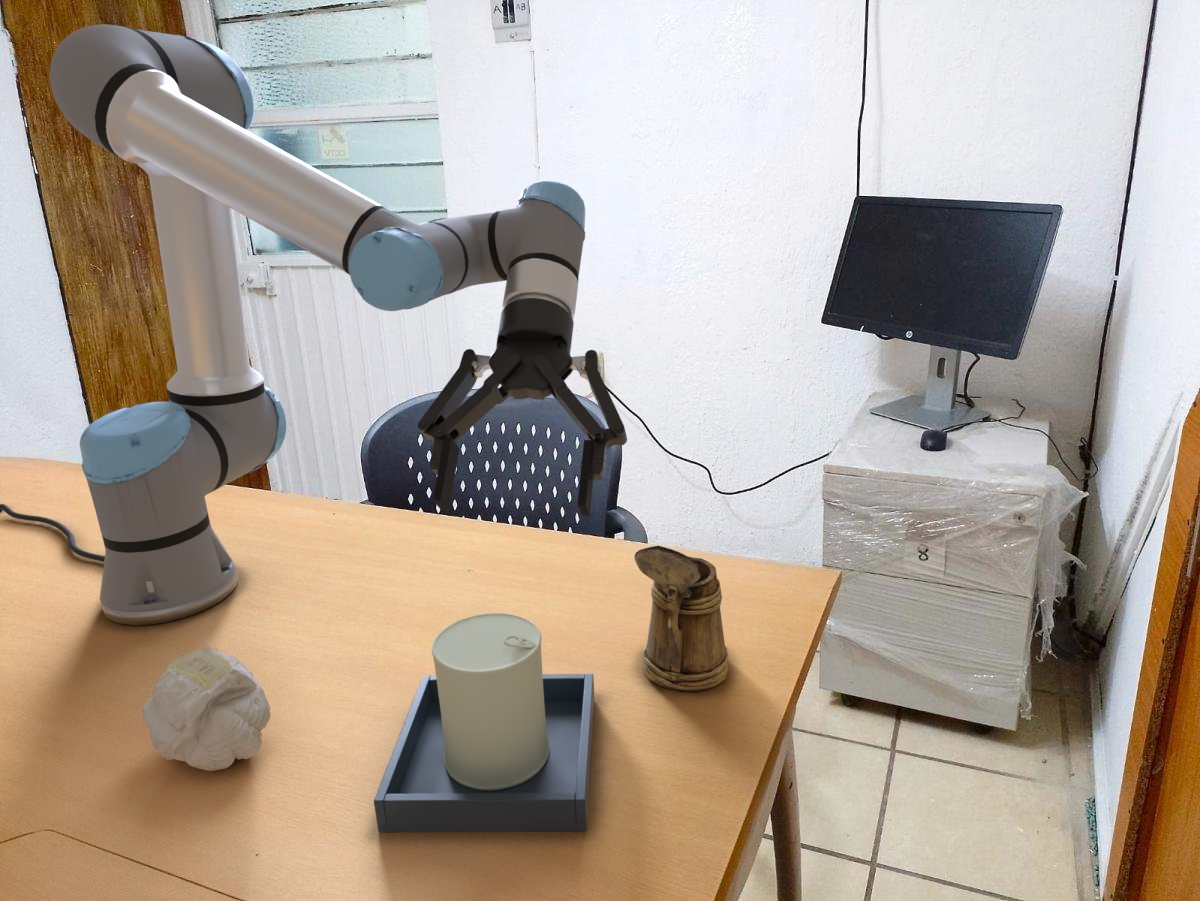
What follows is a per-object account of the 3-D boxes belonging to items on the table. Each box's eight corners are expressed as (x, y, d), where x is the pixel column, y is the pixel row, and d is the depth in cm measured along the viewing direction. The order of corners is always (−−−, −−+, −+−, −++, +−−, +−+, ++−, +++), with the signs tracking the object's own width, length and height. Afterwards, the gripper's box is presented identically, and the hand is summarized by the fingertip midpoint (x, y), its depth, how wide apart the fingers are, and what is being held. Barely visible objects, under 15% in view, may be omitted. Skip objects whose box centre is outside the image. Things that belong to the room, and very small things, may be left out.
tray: (378, 832, 66) (373, 801, 65) (425, 702, 81) (422, 675, 80) (586, 831, 65) (585, 799, 64) (594, 700, 81) (593, 673, 80)
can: (533, 797, 68) (523, 672, 64) (428, 784, 70) (412, 662, 66) (560, 725, 76) (553, 611, 72) (466, 715, 78) (454, 603, 74)
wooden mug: (614, 710, 79) (608, 540, 73) (657, 636, 91) (655, 484, 85) (705, 729, 76) (707, 553, 70) (737, 650, 88) (741, 494, 82)
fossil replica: (234, 797, 70) (301, 730, 79) (229, 712, 68) (298, 653, 77) (113, 769, 73) (192, 707, 82) (103, 685, 70) (186, 631, 80)
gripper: (661, 335, 87) (648, 526, 78) (433, 335, 91) (397, 517, 82) (656, 293, 80) (641, 497, 71) (410, 294, 84) (368, 488, 75)
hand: (511, 508), depth 77 cm, fingers open, 13 cm apart
